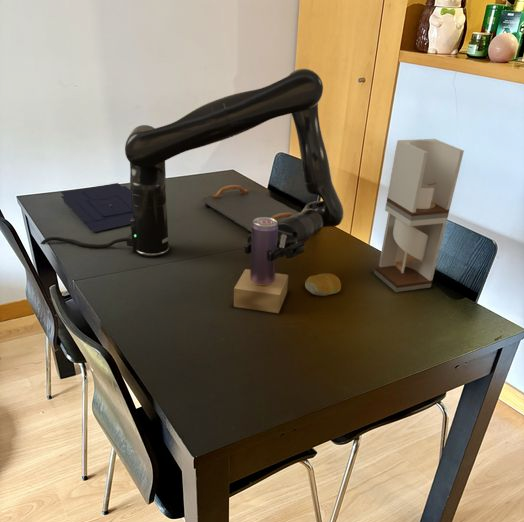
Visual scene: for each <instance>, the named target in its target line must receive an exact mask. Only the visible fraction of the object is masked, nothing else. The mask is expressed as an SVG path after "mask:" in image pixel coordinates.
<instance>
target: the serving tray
mask: <svg viewBox="0 0 524 522" xmlns="http://www.w3.org/2000/svg"><path fill="white" fill-rule="evenodd" d="M230 190H231V191H230ZM232 190H233V191H232ZM201 202H202V203H204V206H205V208H207V209H208V208H209V209H210V208H212V209H213V210H215V211H217V212H218V213H220V214H222V215H223V216H224V217H226V218H228V219H230V220H231V221H233V222H235V223H236V224H237V225H238V226H241V227H243V228H244V229H246V230H247V231H249V232H251V233H252V224H253V220H254V219H255V218H259V217H269V218H273V219H275V220H277V224H278V223H280V222H282V221H283V220H285V219H287V218H289V217H291V216H293V215H296V214H298V213H300V212H299V211H297V210H295V209H294V208H291V207H289V206H287V205H286V204H285V203H282V202H281V201H278V200H275V199H274V198H273V197H270V196H269V195H267V194H264V193H263V192H261V191H258V190H248V189H244V188H243V187H242V186H241V185H239V184H231V185H225V186H223V187H221V188H220V189H218V191H217V192H216V193H215V194H211V195H209V196H206V197H203V198H202V199H201Z"/></svg>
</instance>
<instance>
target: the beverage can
mask: <svg viewBox="0 0 524 522" xmlns="http://www.w3.org/2000/svg"><path fill="white" fill-rule="evenodd" d="M251 233H252V235H251V253H250V268H249V270H250V279H251V281H252V282H253V283H254V284H256V285H259V286H267V285H270V284H272V283H273V282H274V280H275V273H276V270H277V269H276V268H277V267H276V266H277V259H276V260H273V261H269V260H268V255H269V252H270V251H272V250H274V249H276V248H277V236H278V225H277V220H275V219H273V218H269V217H259V218H255V219H254V220H253V224H252V232H251Z"/></svg>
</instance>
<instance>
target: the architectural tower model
mask: <svg viewBox="0 0 524 522" xmlns="http://www.w3.org/2000/svg"><path fill="white" fill-rule="evenodd" d="M464 153H465V150H463V149H461V148H459V147H456V146H454V145H452V144H449V143H446V142H444V141H441V140H438V139H436V138H424V139H423V138H421V139H401V140H400V139H399V140H398V139H397V141H396V145H395V151H394V158H393V162H392V169H391V175H390V181H389V185H388V192H387V197H386V203H385V208H384V211H385V212H387V213H388V214H387V218H386V224H385V225H386V226H385V230H384V235H383V239H382V248H381V251H380V257H379V263H378V265H375V266H374V271H373V274H374V275H375V276H376V277H377V278H378V279H380V280H381V281H382V282H383V283H384V284H386V285H387V286H388V287H389V288H390V289H392V290H393V292H395V293H400V292H407V291H408V292H409V291H414V290H421V289H429V288H431V287H432V284H433V279H434V275H435V271H436V267H437V263H438V258H439V254H440V252H441V251H440V250H441V246H442V242H443V239H444V234H445V231H446V227H447V223H448V218H449V213H450V210H451V205H452V202H453V198H454V193H455V188H456V184H457V180H458V176H459V172H460V168H461V164H462V161H463V156H464Z"/></svg>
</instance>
